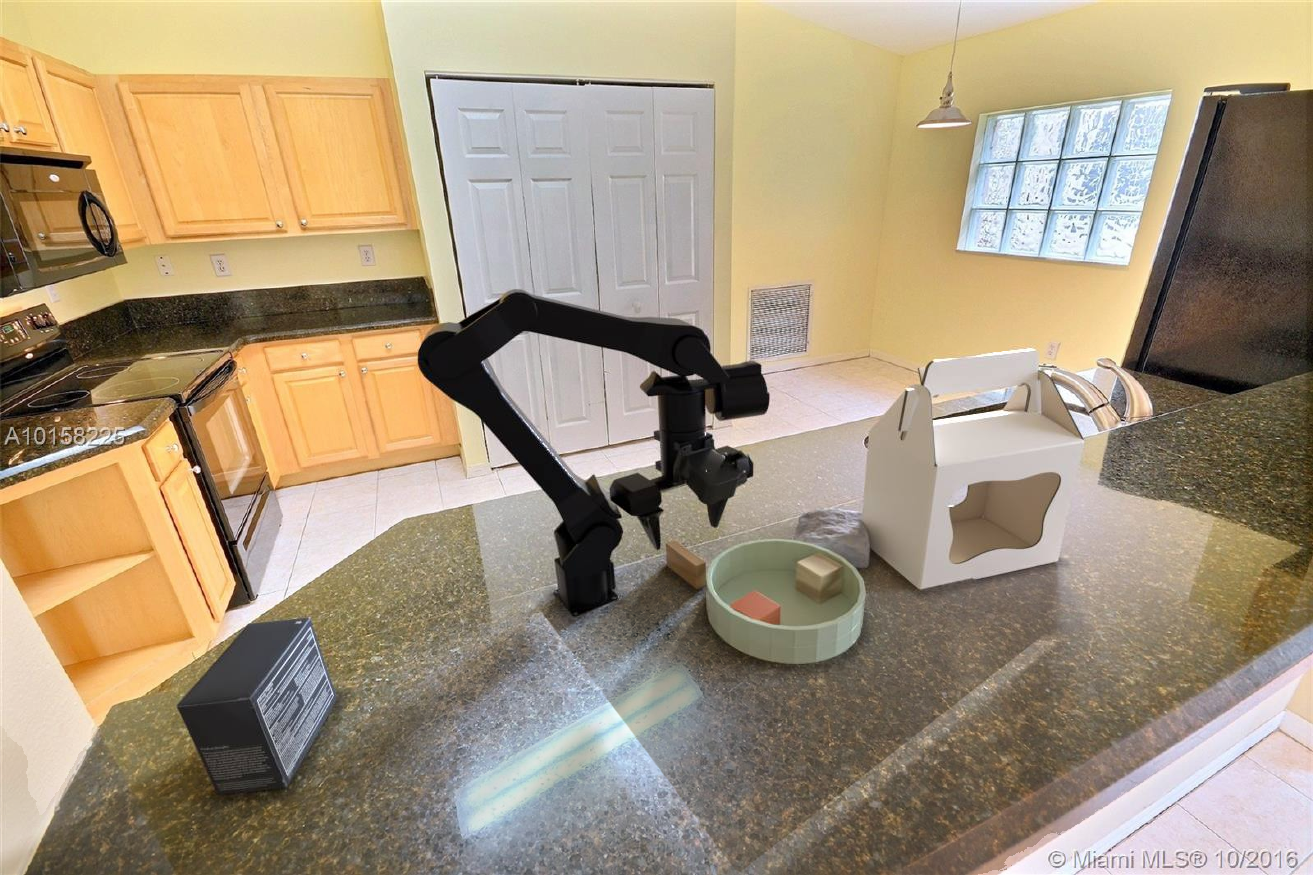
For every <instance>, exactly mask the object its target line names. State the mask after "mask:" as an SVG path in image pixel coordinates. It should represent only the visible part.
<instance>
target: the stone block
mask: <svg viewBox="0 0 1313 875" xmlns="http://www.w3.org/2000/svg"><path fill="white" fill-rule="evenodd" d="M861 519H862V510H857V511H856V510H848V509H840V508H824V507H823V508H822V507H821V508H819V509H815V510H809V511H807V512H804V513H803V514H801V515H800V516H798V523H797V525H796V528H795V531H794V539H793V540H796V541H801V542H806V543H810V544H814V545H817V546H819V547H822V548H825V549H828V550H830V551H832V552H834V553H835V554H837V555H839V556H841V557H843V558H844V559H846V560H847V561H848V562H849V563H850V564H851V565H853V566H854V567H855V568H856V569H867V568H868V567H869V566H870V553H871V552H870V551H871V548H870V543H869V537H868V533H867V530H866V528H865V525H864V522H863V521H862V520H861Z"/></svg>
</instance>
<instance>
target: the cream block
mask: <svg viewBox="0 0 1313 875" xmlns="http://www.w3.org/2000/svg"><path fill="white" fill-rule="evenodd" d="M843 570H844V566H843V565H841V564H840V563H838V562H836V561H834V560H833V559H831V558H829V557H827V556H825V555H824V554H822V553H820V552H818V553H816V554H814V555H812V556H809V557H807V558H805V559H803V560H801V561H798V562H797V571H796V589H797V590H798V591H800V592H801V593H803V594H804V595H806V596H807V597H809V598H810V599H812V600H813V601H815V602H816V603H818V604H819V605H820V604H822V603H823V602H825V601H827V600H829V599H831V598H833V597H835V596H837V595H839V594H841V593H842V583H843Z"/></svg>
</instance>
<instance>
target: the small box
mask: <svg viewBox="0 0 1313 875" xmlns="http://www.w3.org/2000/svg"><path fill="white" fill-rule="evenodd" d="M338 698H339V697H338V695H337V692H336V689H335V686H334V684H333V681H332V679H331V676H330V673H329V670H328V667H327V664H326V661H325V659H324V654H323V652H322V649H321V646H320V643H319V640H318V637H317V634H316V631H315V628H314V626H313V621H312V619H311V617H310V616H306V617H298V618H288V619H279V620H269V621H261V622H259V621H258V622H251V623H247V625H246V626H245V627H244V628H243V629H242V630H241V632H240V633H239V634H238V635H237V636H236V637H235V638H234V640H233V641H232V642H231V643H230V644H229V645H228V647H226V649H225V650H224V651H223V652H222V653H221V655H219V657H218V658H217V659H216V660H215V661H214V662H213V663H212V665H210V667H209V668H208V669H207V670H206V672H205V673H204V674H203V675H201V677H200V678H199V679H198V681H197V682H196V683H195V684H194V685H193V686H192V687H191V688H190V690H188V692H186V694H185V695H184V696H183V698H181V700H180V701H179V702H178V703H177V704H176V706H175V707H176V709H177V710H178V713H179V715H180V716H181V719H182V721H183V723H184V725H185V728H186V729H187V732H188V734H189V736H190V738H191V740H192V742H193V745H194V746H195V749H196V751H197V753H198V756H199V757H200V760H201V762H202V764H203V766H204V768H205V770H206V773H207V775H208V778H209V779H210V782H211V784H212V786H213V788H214V791H215V793H216V795H218V796H222V795H233V794H242V793H251V792H261V791H272V790H281V789H286V788H288V786H290V783H291V782H292V780H293V778H294V777H295V775H296V773H297V771H298V769H299V767H300V766H301V765H302V762H303V760H304V759H305V757H306V755H307V753H308V752H309V750H310V748H311V747H312V744H313V743H314V741H315V739H316V737H317V736H318V735H319V732H320V730H321V728H322V727H323V725H324V724H325V721H326V720H327V718H328V716H329V714H330V712H331V711H332V709H333V707H334V705H335V704H336V702H337V700H338Z"/></svg>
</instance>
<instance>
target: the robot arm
mask: <svg viewBox="0 0 1313 875" xmlns="http://www.w3.org/2000/svg"><path fill="white" fill-rule="evenodd" d="M525 332H530V333H533V334H537V335H543V336H547V337H551V338H557V339H562V340H566V341H571V342H574V343H580V344H584V345H589V346H594V347H599V348H603V349H607V350H612V351H617V352H622V353H626V354H629V355H630V356H632V357H633V356H634V357H636V358H637V359H640V360H642V361H643V362H646V363H649V364H651V365H653V366H655V367H657V368H660V369H663V370H665V371H667V372H669V373H672V374H674V375H667V376H661V375H660V374H659V373H658V372H656V371H655V370H652V371H651V373H650V374H649V376H648V377H647V378H646V379H645V380H644V381H642V382H641V383H640V385H639V389H640V390H641V391H642V392H643V393H644V394H645V395H646V396H647V397H651V398H652V397H657V413H658V414H657V415H658V429H657V430H654V431H653V439H654V440H656V441H657V442H659V451H660V452H659V454H660V456H659V457H660V460H656V461H655V462H654V463H655V464H654V465H655V466H654V467H655V470H657V471H658V472H660V474H661V476H658V477H654V478H651V479H649V478H647V477H646V476H644V475H642V474H641V473H639V472H636V473H632V474H628V475H624V476H622V477H619V478H615V479H613V481H612V482H611V483H610V486H609V491H607V490H605V488H603V487H602V485H601V484H600V482H599V480H598V478H597V476H596V475H595V473H594V474H592V475H591V476H590V477H589V478H587V480H585V479H583V478H582V477H580V476H579V475H577V474H576V473H574V471H573V470H572V469H571V467H569V465H568V464H567V463H566V462H565V460H564V459H563V458H562V457H561V456H560V455H559V454H558V452H557V451H556V449H554V447H553V446H552V445H551V444H550V442H548V440H547V439H546V438H545V436H544V435H543V434H542V433H541V432H540V431H539V429H538V428H537V427H536V426H535V425H534V423H533V422H532V421H531V420H530V419H529V417H528V416H527V415H526V414H525V413H524V411H523V410H522V409H521V407H520V406H519V404H517V403H516V402H515V401H514V399H513V398H512V397H511V395H510V394H509V393H508V392H507V391H506V389H505V388H504V387H503V386H502V384H501V382H500V380H499V378H498V376H497V374H496V372H495V369H494V368H493V366H492V364H491V362H490V360H489V358H490V357H491V356H493V355H494V354H495V353H496V352H498V351H499V350H501V349H502V348H503V347H505V346H506V345H507V344H508V343H510V342H511V341H512V340H513V339H515V338H516V337H517V336H519V335H521V334H523V333H525ZM711 350H712V348H711V342H710V339H709V337H708V335H707V333H706V331H704V330H703V329H702V328H700V327H698V326H696V325H693V324H691V323H689V322H687V321H685V320H682V319H681V318H675V317H659V316H658V317H657V316H648V317H647V316H645V317H643V316H642V317H632V316H624V315H620V314H616V313H612V312H609V311H603V310H599V309H595V308H591V307H586V306H583V305H578V304H575V303H574V304H573V303H570V302H566V301H562V300H557V299H554V298H548V297H545V296H542V295H541V296H540V295H536V294H533V293H530V292H528V291H526V290H524V289H520V288H513V289H510V290H508V291H506V292H505V293H503V294H502V296H501V297H499V298H498V299H496V300H495V301H493V302H491V303H489V304H488V305H486V306H483V307H482V308H480V309H478V310H477V311H475V312H473V313H471V314H470V315H468V316H467V317H465V318H463V319H462V320H460V321H458V322H451V321H448V322H443V323H442V322H441V323H438V324H436V325H435V326H433V327H432V328H431V329H430V330H428V332H427V333H426V335H425V336H424V338H423V340H422V342H421V344H420V346H419V348H418V350H417V365H418V368H419V369H418V370H419V371H420V373H421V374H422V376H423V377H424V378H425V379H426V380H427V381H429V382H430V384H432V385H433V386H435V388H437V389H438V390H440V392H442V393H443V394H445V396H447V397H448V398H449V399H450V400H452V401H454V402H455V403H457V404H459V405H461V406H462V407H464V408H466V409H467V410H469V411H471V412H472V413H473V414H474V415H476V416H477V417H478V418H479V419H480V420H481V422H482V423H483V424H484V425H485V426H486V427H487V429H488V430H489V431H490V432H491V433H492V434H493V435H494V436H495V438H496V439H498V441H499V442H500V443H501V444H502V446H504V448H505V449H506V450H507V451H508V452H509V453H510V455H511V456H512V457H513V458H514V460H516V462H518V464H519V465H520V467H522V468H523V469H524V470H525V472H526V473H527V474H528V475H529V476H530V478H532V480H533V481H534V482H535V483H536V484H537V485H538V486H539V488H540V489H541V490H542V491H543V492H544V493H545V495H546V496H548V498H549V499H550V500H551V501H552V502H553V504H554V506H555V508H556V510H557V511H558V513H559V516H560V518H561V519H562V521H561V522H560V523H559V525H558V526H557V527H556V528H555V529H554V531H553V535H554V539H555V544H556V548H557V553H558V557H556V558H554V567H555V576H556V584H557V589H556V590H554V591H553V594H554V595H555V597H556V598H557V599H558V600H559V601H560V603H561V604H562V605H563V607H564V608H565V609H566V610H567V611H568V612H569V614H570V615H571V616H572V617H579V616H581V615H584V614H585V613H589V612H591V611H593V610H596V609H598V608H601V607H603V606H605V605H608V604H611V603H613V602H615V601H617V600H619V599H620V596H619V595H618V593H616V592H615V590H616V588H617V587H616V576H615V575H616V574H615V562H614V561H613V560H612V559H611V557H612V554H613V551H614V550H615V549H616V548H617V547H618V546H619V545H620V543H621V541H622V539H623V534H624V528H623V526H622V523H621V522H620V520H619V519H622V518H623V516H622V514H621V512H620V509H621V510H622V511H624V512H625V513H627V514H628V515H629V516H631V517H636V518H637V519H638V521H639V523H640V525H641V527H642V528H643V530H644V532H645V534H646V536H647V538H648V540H649V542H650V543H651V545H652V547H653V548H654V549H655V550H656V551H659V550H661V546H662V545H661V544H662V539H661V538H662V537H661V525H660V517H661V515H662V514H663V513H664V511H665V510H664V509H663V508H662V507H660V505H661V504H662V503H663V501H662V500H663V499H662V498H663V497H662V494H663V493H666V492H670V491H673V490H675V489H679V488H682V487H685V486H687V487H688V488H689V489H690V490H691V491H692V492H693V493H694V495H695V496H696V498H697V499H698V501H699V502H700V503H701V504H703V505H706V509H707V516H708V520H709V524H710V527H712V528H713V529H717V528H718V526H719V524H720V522H721V519H722V516H723V513H724V511H725V508H726V506H727V503H728V501H729V499H731V498H733V497H734V496H735V494H736V490H737V488H739V487H740V486H743V485H745V484H746V482H748V479H750V478H753V477H754V471H755V468H754V467H755V464H754V461H753V459H752V457H751V456H750V455H749V454H747V453H745V452H744V451H743V450H742V449H740V450H739V449H736V448H734V447H733V446H732V447H731V446H730V445H724V446H721V447H718V448H716V446H715V439H714V437H713V434H712V433H709V432H707V412H708V413H709V414H710V415H714V417H715V418H716V419H717V421H720V422H722V421H723V422H724V421H730V420H737V419H745V418H752V417H758V416H759V417H760V416H764V415H765V414H767V412H768V410H769V407H770V402H771V401H770V400H771V399H770V397H771V394H770V392H769V391H768V386H767V385H768V384H767V382H766V378H765V377H764V374H763V373H762V364H761V363H759V362H758V361H756V360H747V361H746V360H745V361H742V362H740V363H733V364H726V365H722V364H720V362H719V361H718V360H717V359H716V357H715V356H714V355H713V354H712V352H711ZM694 375H696V376H698V377H700V378H697V379H695V378H694V379H689V378H688V377H692V376H694ZM706 411H707V412H706ZM618 507H619V508H620V509H619V508H618ZM614 597H616V598H614Z"/></svg>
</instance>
